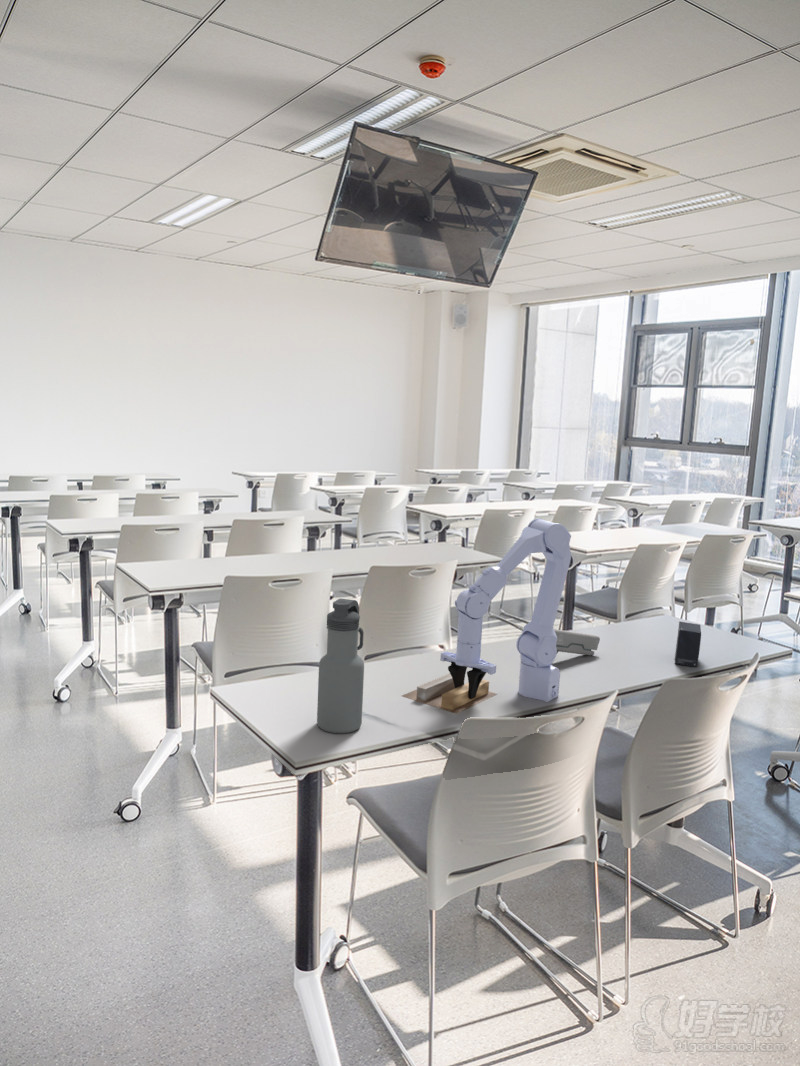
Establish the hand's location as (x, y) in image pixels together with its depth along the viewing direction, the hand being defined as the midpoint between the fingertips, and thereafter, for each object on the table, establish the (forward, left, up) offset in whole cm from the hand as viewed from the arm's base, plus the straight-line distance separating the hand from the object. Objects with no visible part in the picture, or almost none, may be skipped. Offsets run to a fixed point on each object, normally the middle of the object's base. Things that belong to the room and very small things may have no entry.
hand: (465, 695), depth 194 cm
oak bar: (0, 0, -1) cm, 1 cm away
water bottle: (+12, +31, -2) cm, 33 cm away
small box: (-28, -76, -2) cm, 81 cm away
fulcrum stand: (+4, 0, -2) cm, 5 cm away
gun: (-2, -51, -2) cm, 51 cm away
